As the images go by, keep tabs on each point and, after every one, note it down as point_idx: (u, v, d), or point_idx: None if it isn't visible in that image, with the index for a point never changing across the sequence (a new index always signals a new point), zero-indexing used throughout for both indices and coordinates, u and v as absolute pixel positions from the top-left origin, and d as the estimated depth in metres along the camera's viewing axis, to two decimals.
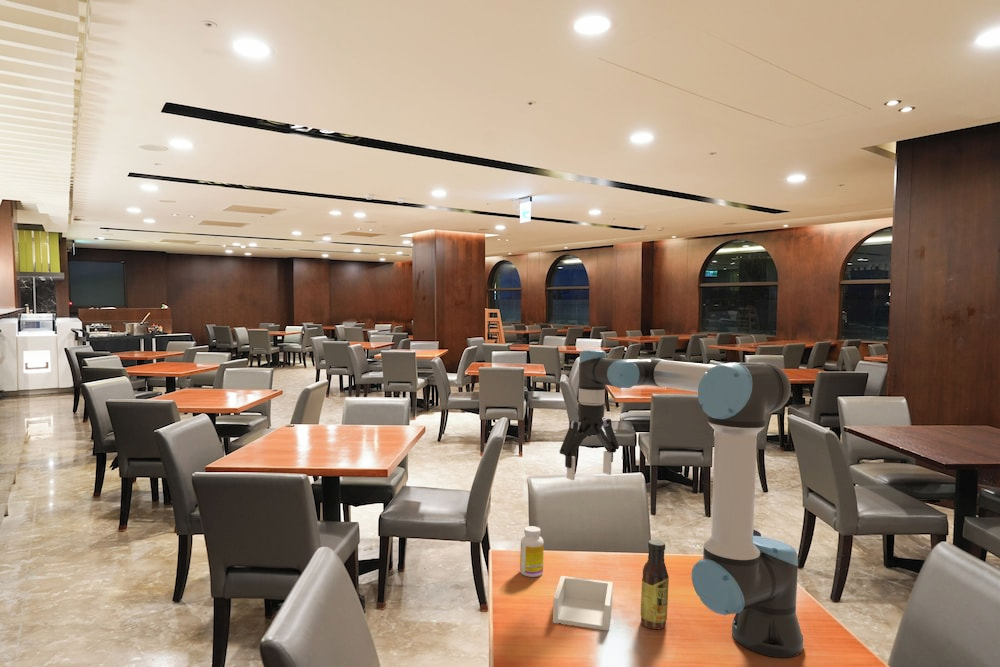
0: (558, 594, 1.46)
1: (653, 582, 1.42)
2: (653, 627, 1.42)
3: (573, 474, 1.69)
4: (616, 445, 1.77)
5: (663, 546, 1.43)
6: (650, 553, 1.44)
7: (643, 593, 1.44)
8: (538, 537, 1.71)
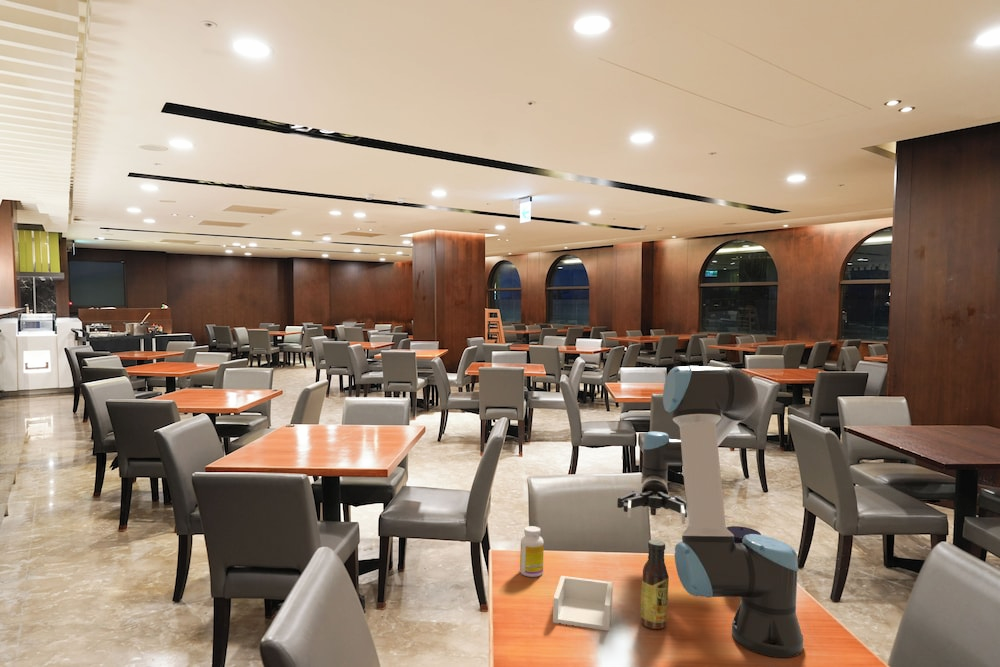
0: (558, 594, 1.46)
1: (653, 582, 1.42)
2: (653, 627, 1.42)
3: (629, 505, 1.57)
4: None
5: (663, 546, 1.43)
6: (650, 553, 1.44)
7: (643, 593, 1.44)
8: (538, 537, 1.71)
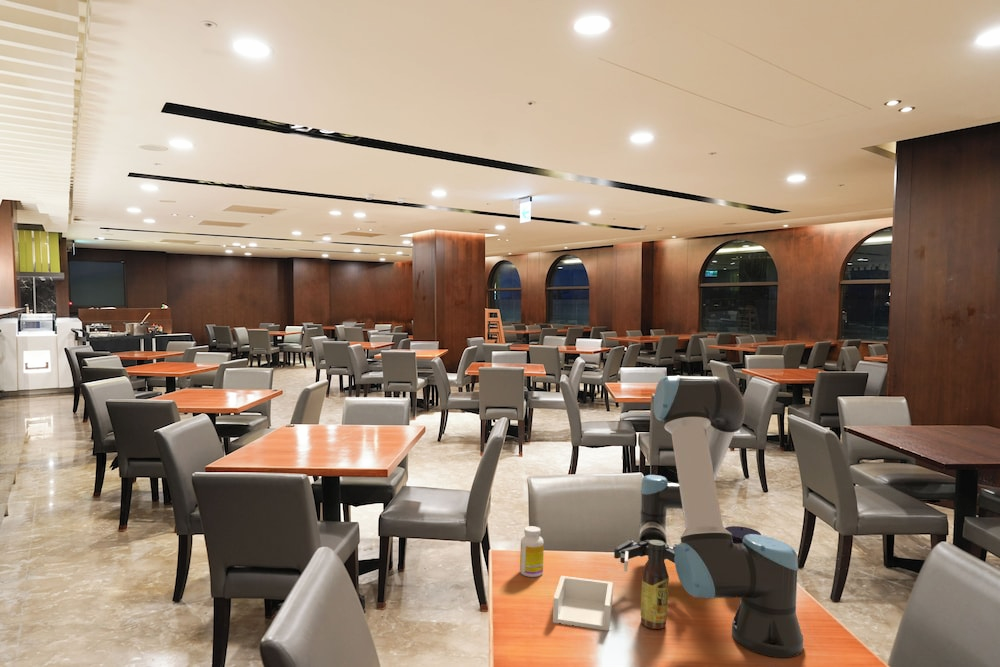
0: (558, 594, 1.46)
1: (653, 582, 1.42)
2: (653, 627, 1.42)
3: (626, 558, 1.54)
4: None
5: (663, 546, 1.43)
6: (650, 553, 1.44)
7: (643, 593, 1.44)
8: (538, 537, 1.71)
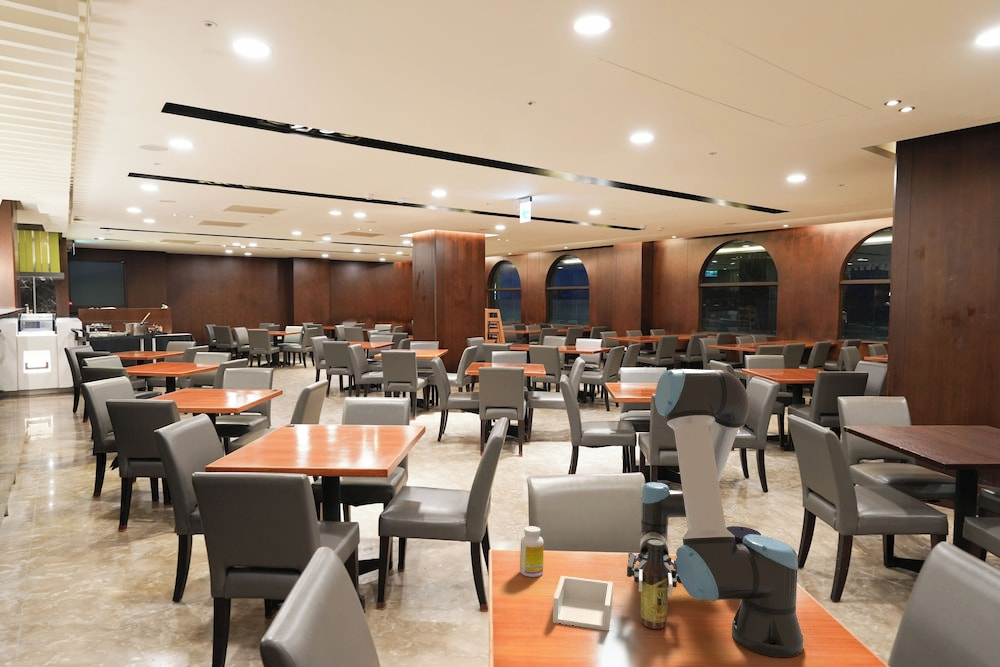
0: (558, 594, 1.46)
1: (652, 582, 1.42)
2: (653, 627, 1.42)
3: (640, 577, 1.42)
4: None
5: (662, 545, 1.43)
6: (649, 553, 1.44)
7: (642, 593, 1.44)
8: (538, 537, 1.71)
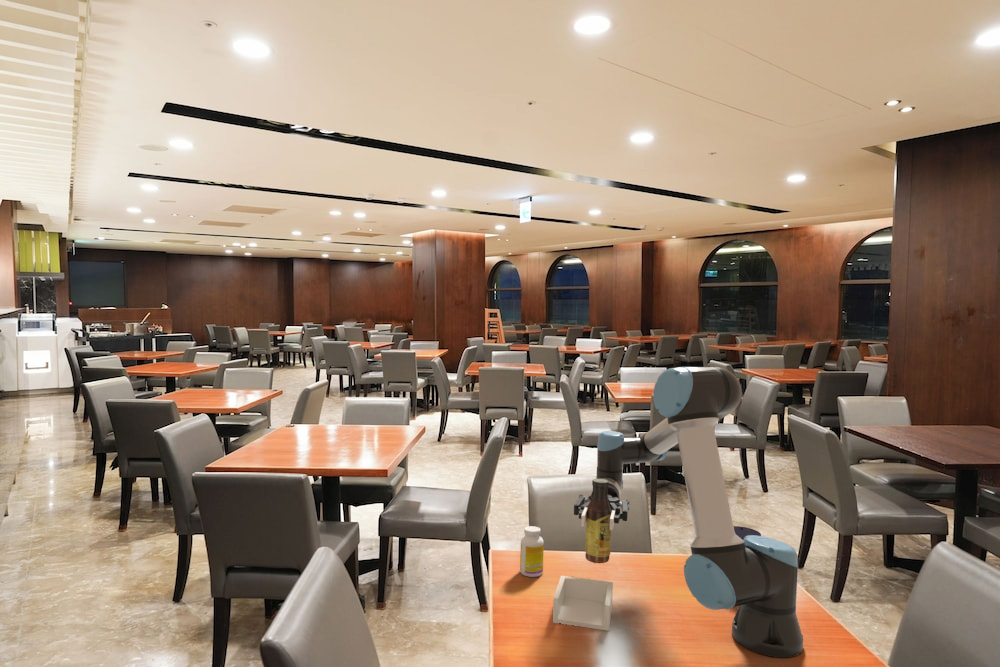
0: (558, 594, 1.46)
1: (595, 517, 1.46)
2: (596, 562, 1.46)
3: (583, 513, 1.46)
4: (624, 509, 1.50)
5: (605, 483, 1.47)
6: (594, 490, 1.48)
7: (587, 529, 1.48)
8: (538, 537, 1.71)
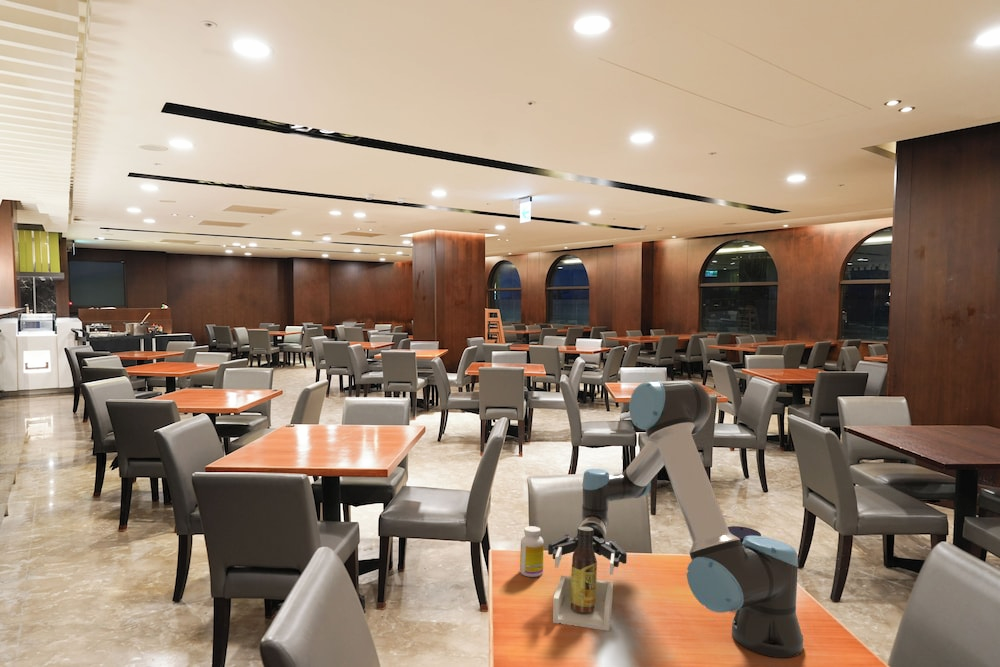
0: (558, 594, 1.46)
1: (581, 566, 1.47)
2: (581, 611, 1.46)
3: (557, 554, 1.48)
4: (622, 552, 1.51)
5: (590, 531, 1.48)
6: (579, 538, 1.49)
7: (572, 578, 1.48)
8: (538, 537, 1.71)
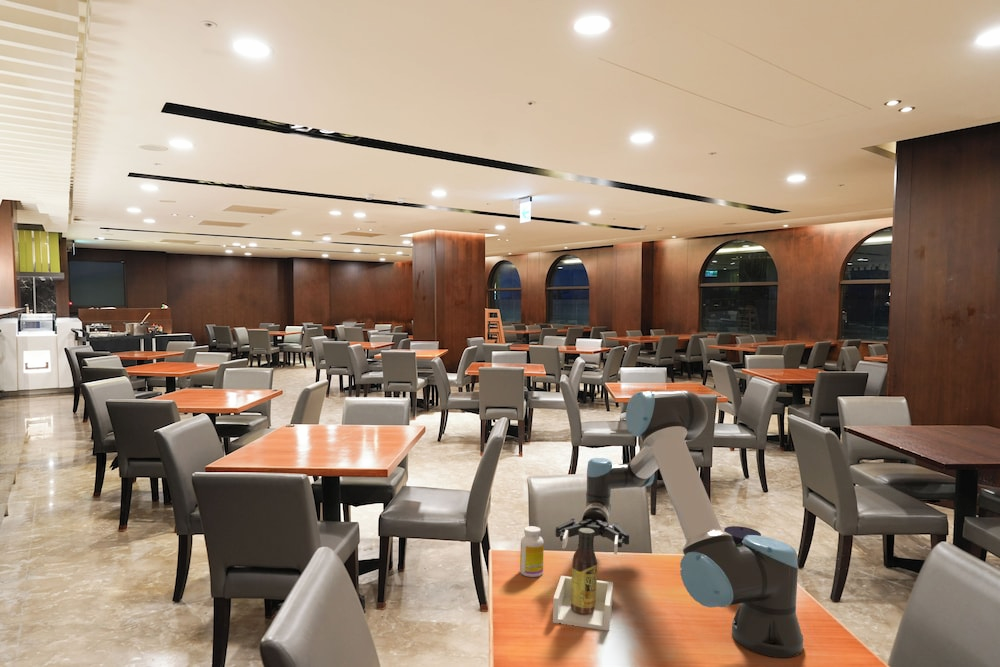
0: (558, 594, 1.46)
1: (581, 568, 1.46)
2: (581, 613, 1.46)
3: (564, 536, 1.61)
4: (625, 534, 1.64)
5: (592, 533, 1.47)
6: (580, 540, 1.48)
7: (572, 579, 1.48)
8: (538, 537, 1.71)
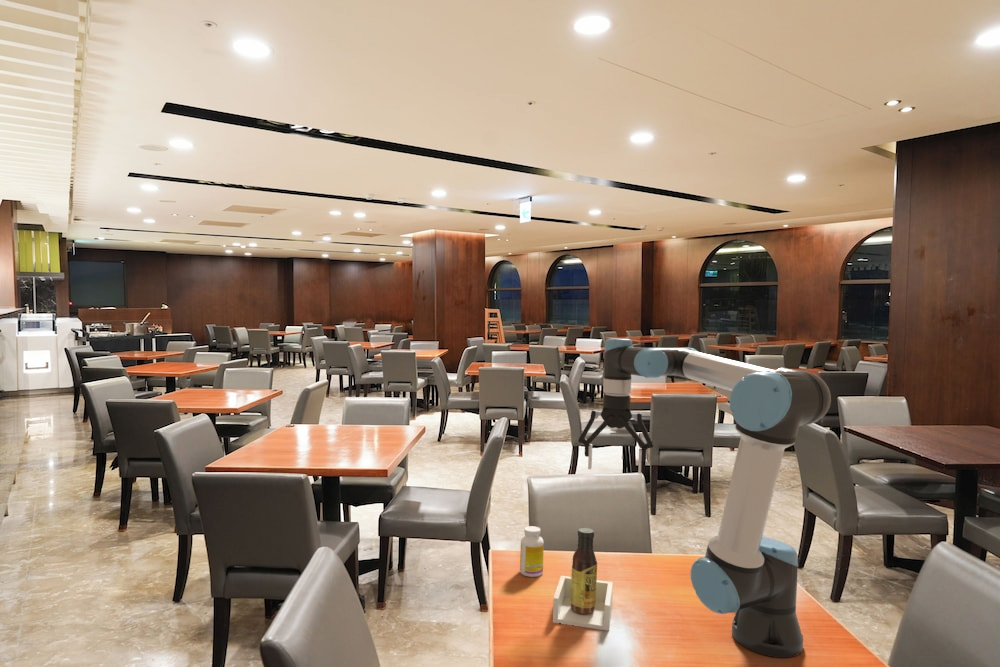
0: (558, 594, 1.46)
1: (581, 568, 1.46)
2: (581, 613, 1.46)
3: (589, 463, 1.66)
4: (649, 443, 1.62)
5: (591, 533, 1.47)
6: (579, 540, 1.48)
7: (572, 579, 1.48)
8: (538, 537, 1.71)
